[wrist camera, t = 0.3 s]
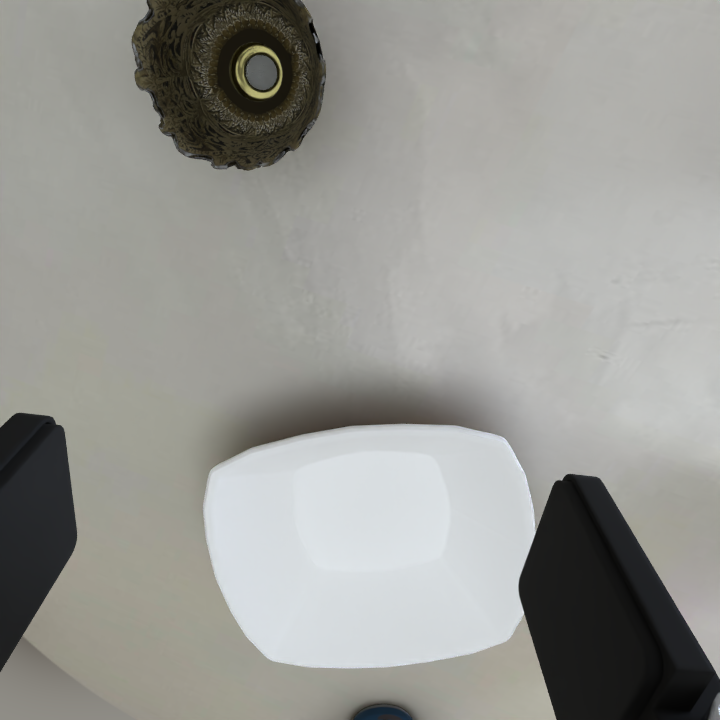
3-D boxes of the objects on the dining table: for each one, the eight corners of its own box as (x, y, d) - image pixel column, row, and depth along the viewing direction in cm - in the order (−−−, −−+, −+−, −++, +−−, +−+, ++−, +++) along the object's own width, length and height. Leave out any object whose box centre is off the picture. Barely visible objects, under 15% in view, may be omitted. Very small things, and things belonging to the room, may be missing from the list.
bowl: (193, 403, 38) (169, 449, 33) (517, 366, 36) (539, 409, 32) (260, 620, 47) (249, 680, 43) (518, 597, 46) (536, 656, 41)
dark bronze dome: (164, 14, 28) (95, -7, 20) (306, -37, 27) (285, -78, 20) (222, 166, 31) (181, 193, 24) (351, 126, 30) (347, 141, 23)
